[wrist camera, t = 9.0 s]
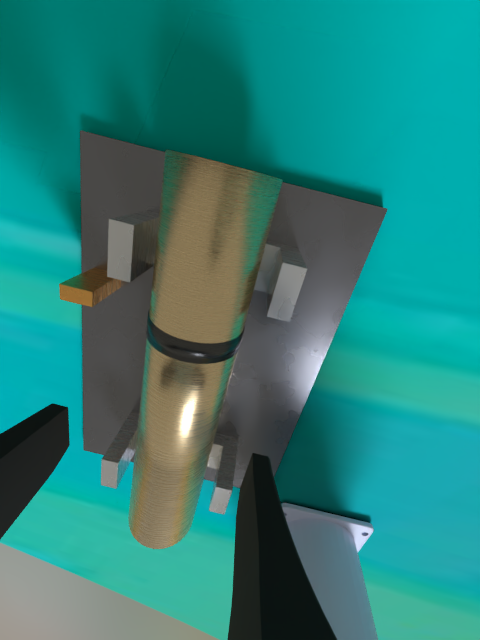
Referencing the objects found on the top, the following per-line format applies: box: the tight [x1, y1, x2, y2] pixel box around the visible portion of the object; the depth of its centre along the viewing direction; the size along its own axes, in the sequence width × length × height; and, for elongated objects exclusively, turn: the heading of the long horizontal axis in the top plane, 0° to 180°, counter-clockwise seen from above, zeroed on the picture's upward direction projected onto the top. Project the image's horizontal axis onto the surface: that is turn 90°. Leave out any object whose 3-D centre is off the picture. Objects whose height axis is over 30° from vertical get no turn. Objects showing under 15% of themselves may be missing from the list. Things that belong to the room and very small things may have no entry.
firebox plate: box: [59, 131, 387, 514], centre depth 17 cm, size 22×15×5 cm
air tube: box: [129, 150, 283, 549], centre depth 16 cm, size 22×4×4 cm, turn 167°
